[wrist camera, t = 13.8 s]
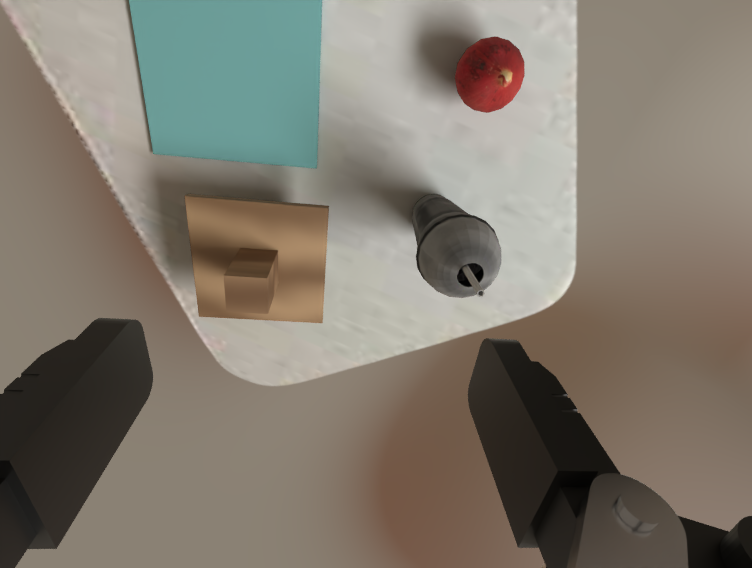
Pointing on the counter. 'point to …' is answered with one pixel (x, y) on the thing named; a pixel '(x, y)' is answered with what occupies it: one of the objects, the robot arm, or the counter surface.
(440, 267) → the beverage cup
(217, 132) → the mat
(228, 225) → the lid
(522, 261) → the counter surface
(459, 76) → the pomegranate
